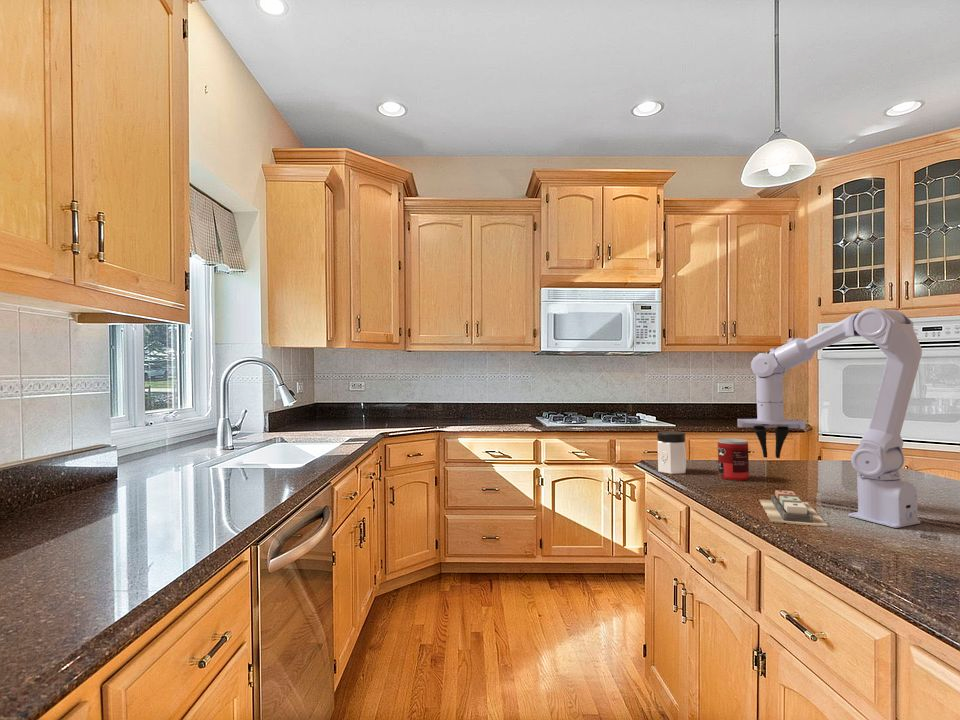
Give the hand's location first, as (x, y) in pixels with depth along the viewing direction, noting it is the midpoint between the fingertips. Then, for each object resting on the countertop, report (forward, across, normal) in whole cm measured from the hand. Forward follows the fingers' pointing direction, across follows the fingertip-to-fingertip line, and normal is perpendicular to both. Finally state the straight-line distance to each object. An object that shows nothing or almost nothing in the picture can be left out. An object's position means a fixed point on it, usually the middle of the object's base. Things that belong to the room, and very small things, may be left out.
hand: (771, 457), depth 128 cm
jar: (+10, +25, -25) cm, 37 cm away
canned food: (+10, +8, -20) cm, 24 cm away
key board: (+10, -2, +13) cm, 17 cm away
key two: (+8, -2, +13) cm, 16 cm away
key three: (+8, -2, +8) cm, 11 cm away
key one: (+8, -2, +19) cm, 21 cm away
